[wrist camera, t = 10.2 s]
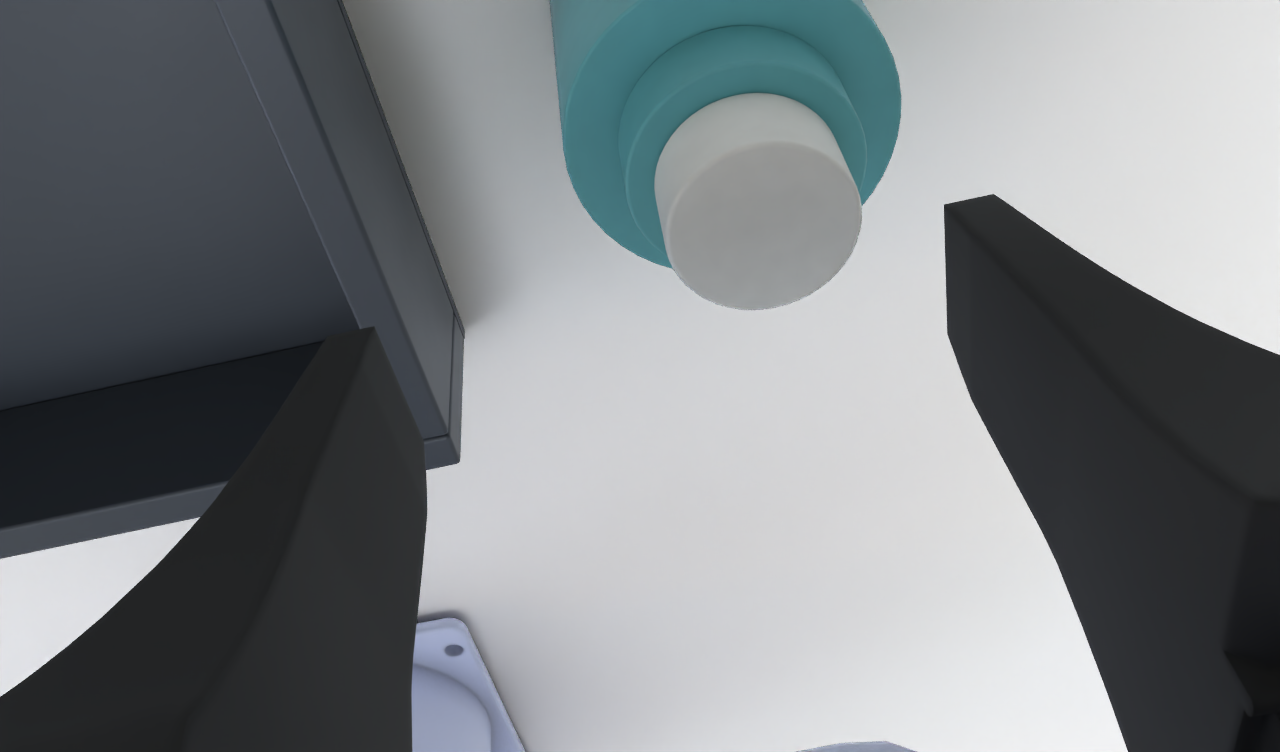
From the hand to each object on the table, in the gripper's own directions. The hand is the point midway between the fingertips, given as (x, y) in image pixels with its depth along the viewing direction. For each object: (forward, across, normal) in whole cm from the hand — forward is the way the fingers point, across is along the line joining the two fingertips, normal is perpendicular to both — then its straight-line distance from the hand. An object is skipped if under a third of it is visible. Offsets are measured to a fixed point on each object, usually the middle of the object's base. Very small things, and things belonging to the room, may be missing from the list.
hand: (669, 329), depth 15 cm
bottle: (+10, -2, 0) cm, 10 cm away
